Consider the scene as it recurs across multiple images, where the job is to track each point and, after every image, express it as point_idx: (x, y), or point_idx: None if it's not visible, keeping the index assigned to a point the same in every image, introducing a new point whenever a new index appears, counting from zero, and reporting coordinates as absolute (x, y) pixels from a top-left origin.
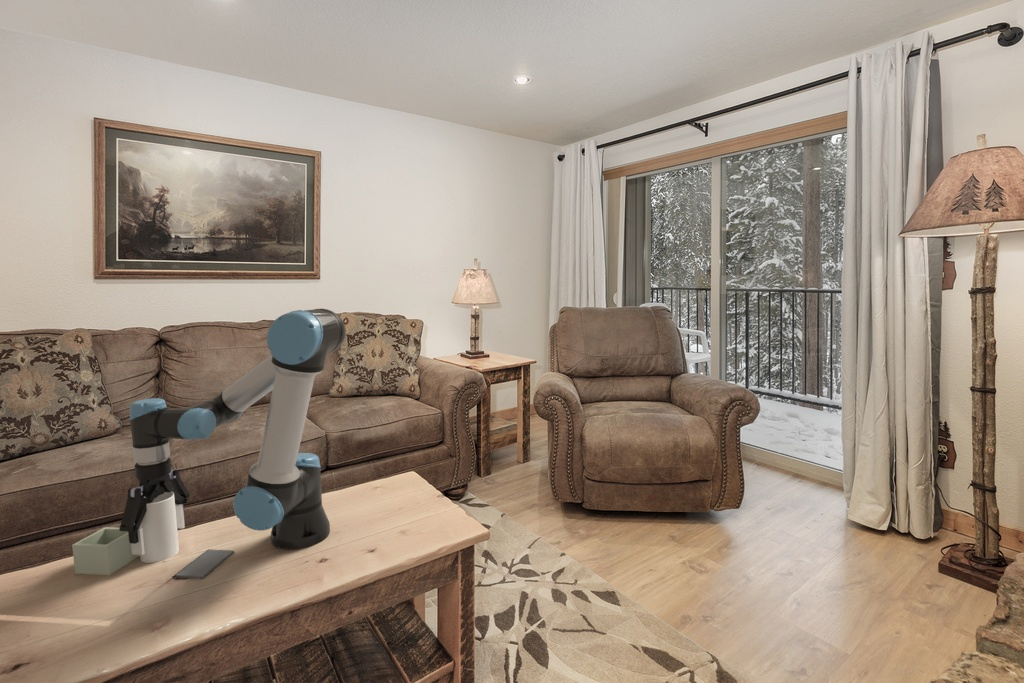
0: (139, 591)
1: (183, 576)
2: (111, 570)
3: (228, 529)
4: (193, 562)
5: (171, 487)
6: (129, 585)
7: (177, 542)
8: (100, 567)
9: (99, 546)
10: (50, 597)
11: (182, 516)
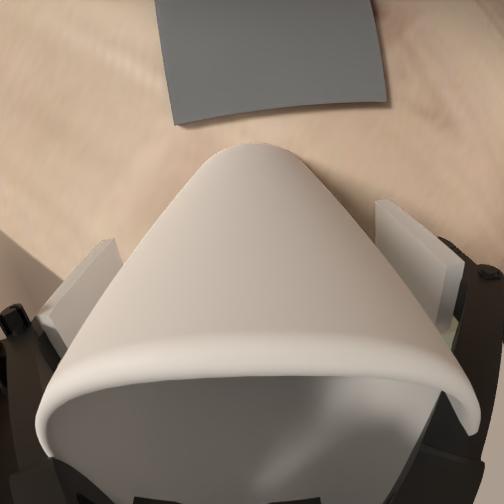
0: (457, 91)
1: None
2: None
3: (16, 145)
4: (275, 15)
5: (25, 494)
6: (437, 153)
7: (209, 162)
8: None
9: None
10: None
11: (81, 270)
